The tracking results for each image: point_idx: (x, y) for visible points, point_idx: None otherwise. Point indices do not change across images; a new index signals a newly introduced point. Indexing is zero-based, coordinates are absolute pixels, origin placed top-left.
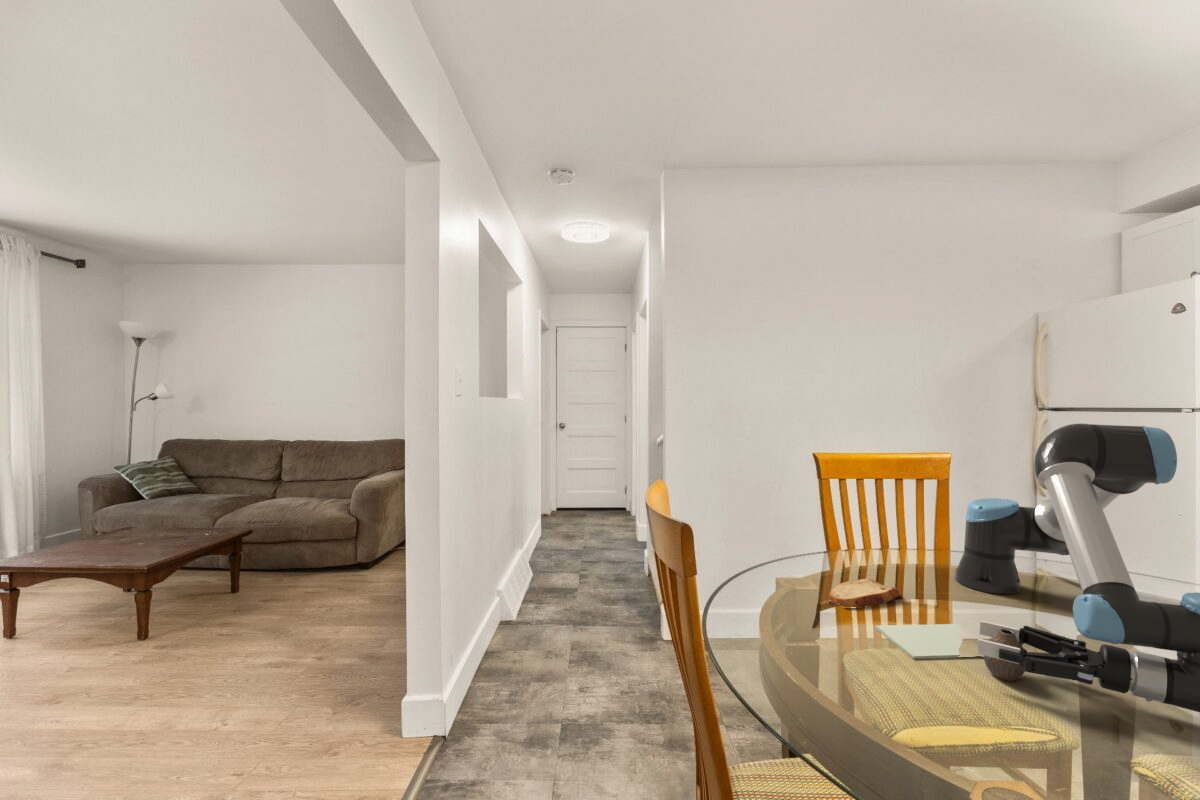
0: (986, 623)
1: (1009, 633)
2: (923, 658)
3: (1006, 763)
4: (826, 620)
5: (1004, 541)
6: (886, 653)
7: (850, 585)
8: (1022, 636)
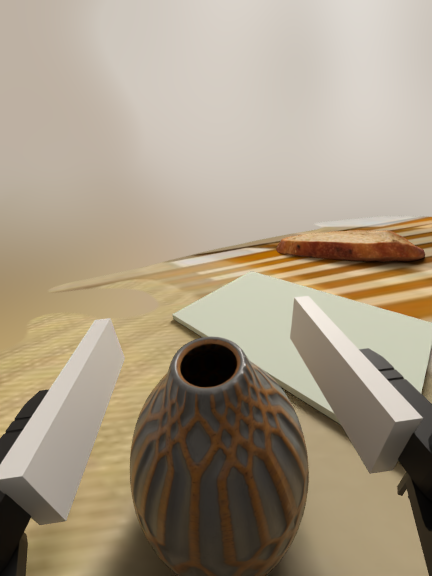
0: (303, 310)
1: (254, 383)
2: (185, 326)
3: None
4: (225, 254)
5: None
6: (170, 297)
7: (343, 234)
8: (425, 472)
